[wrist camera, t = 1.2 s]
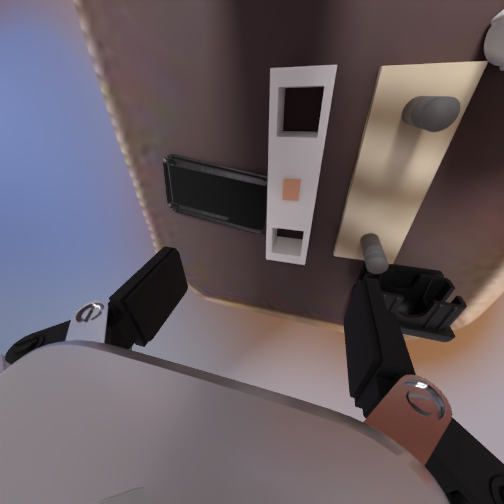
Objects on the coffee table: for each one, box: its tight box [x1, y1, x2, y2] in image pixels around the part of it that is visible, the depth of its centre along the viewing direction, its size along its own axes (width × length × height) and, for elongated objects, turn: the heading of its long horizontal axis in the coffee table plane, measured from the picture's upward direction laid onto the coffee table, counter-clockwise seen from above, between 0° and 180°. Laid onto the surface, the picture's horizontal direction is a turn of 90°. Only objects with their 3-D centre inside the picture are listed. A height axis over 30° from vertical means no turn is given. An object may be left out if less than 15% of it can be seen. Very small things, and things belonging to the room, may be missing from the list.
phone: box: [163, 154, 268, 234], centre depth 29 cm, size 8×1×15 cm
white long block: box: [266, 65, 337, 265], centre depth 23 cm, size 19×5×4 cm, turn 1°
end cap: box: [352, 264, 467, 342], centre depth 27 cm, size 10×7×7 cm
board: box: [333, 61, 488, 274], centre depth 20 cm, size 19×7×6 cm, turn 1°
